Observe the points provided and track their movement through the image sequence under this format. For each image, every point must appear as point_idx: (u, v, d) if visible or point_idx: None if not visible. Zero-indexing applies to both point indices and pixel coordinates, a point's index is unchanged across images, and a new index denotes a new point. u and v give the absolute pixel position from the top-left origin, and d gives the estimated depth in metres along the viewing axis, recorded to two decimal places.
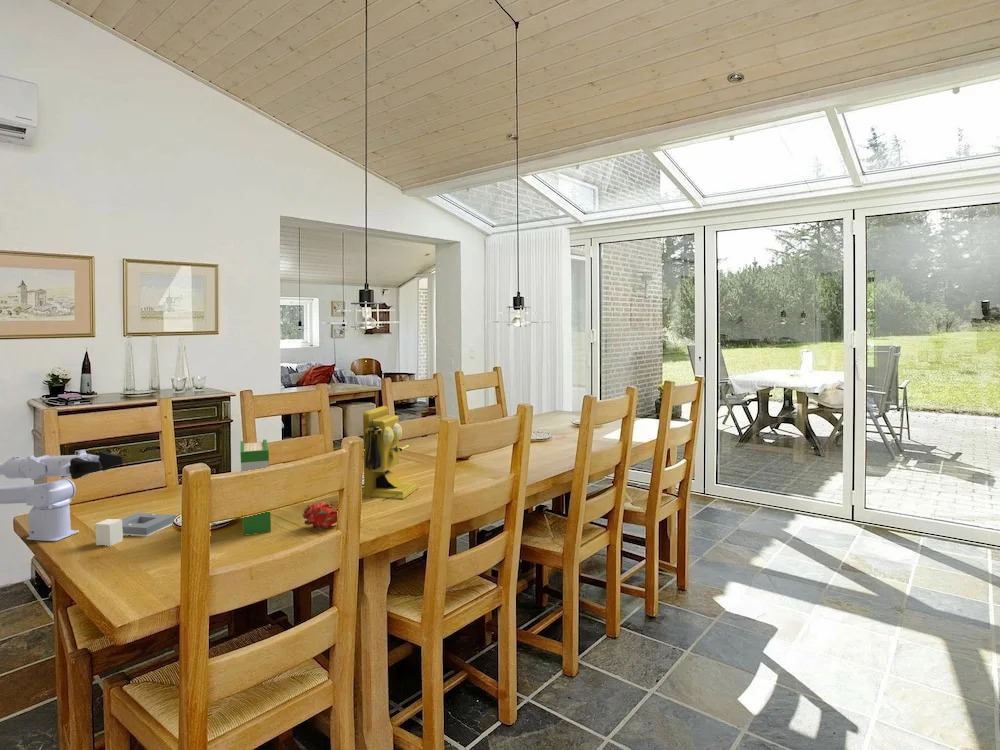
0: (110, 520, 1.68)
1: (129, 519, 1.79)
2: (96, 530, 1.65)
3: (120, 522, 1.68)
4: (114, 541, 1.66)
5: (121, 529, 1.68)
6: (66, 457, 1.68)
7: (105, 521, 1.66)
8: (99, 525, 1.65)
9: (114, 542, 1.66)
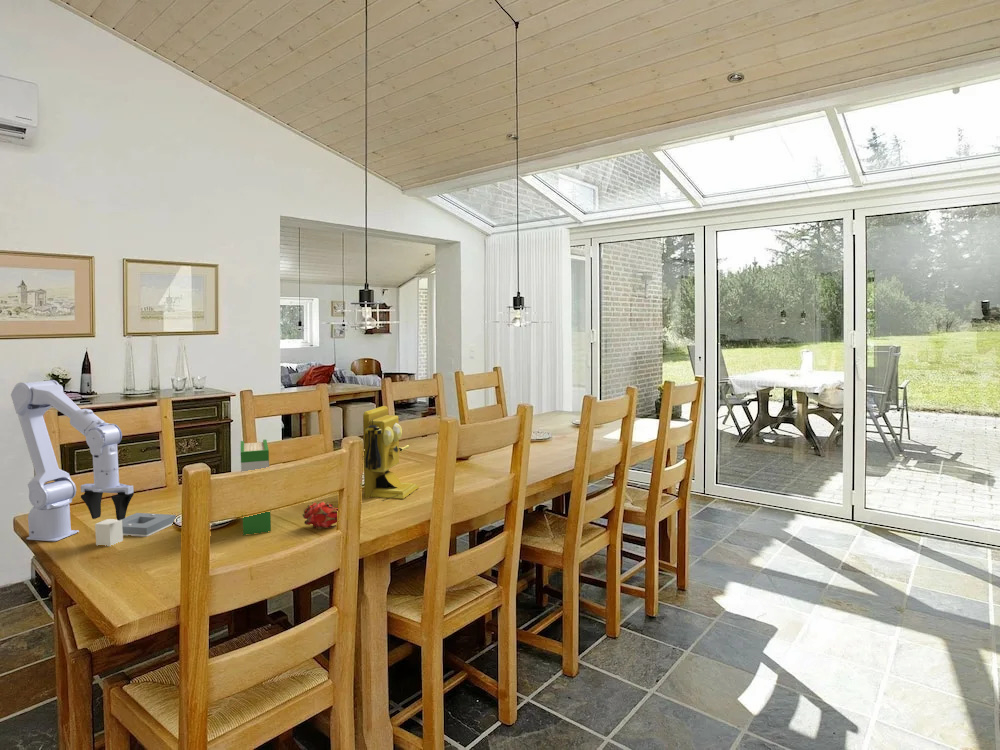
0: (110, 520, 1.68)
1: (129, 519, 1.79)
2: (96, 530, 1.65)
3: (120, 522, 1.68)
4: (114, 541, 1.66)
5: (121, 529, 1.68)
6: (94, 475, 1.63)
7: (105, 522, 1.66)
8: (99, 525, 1.65)
9: (114, 542, 1.66)
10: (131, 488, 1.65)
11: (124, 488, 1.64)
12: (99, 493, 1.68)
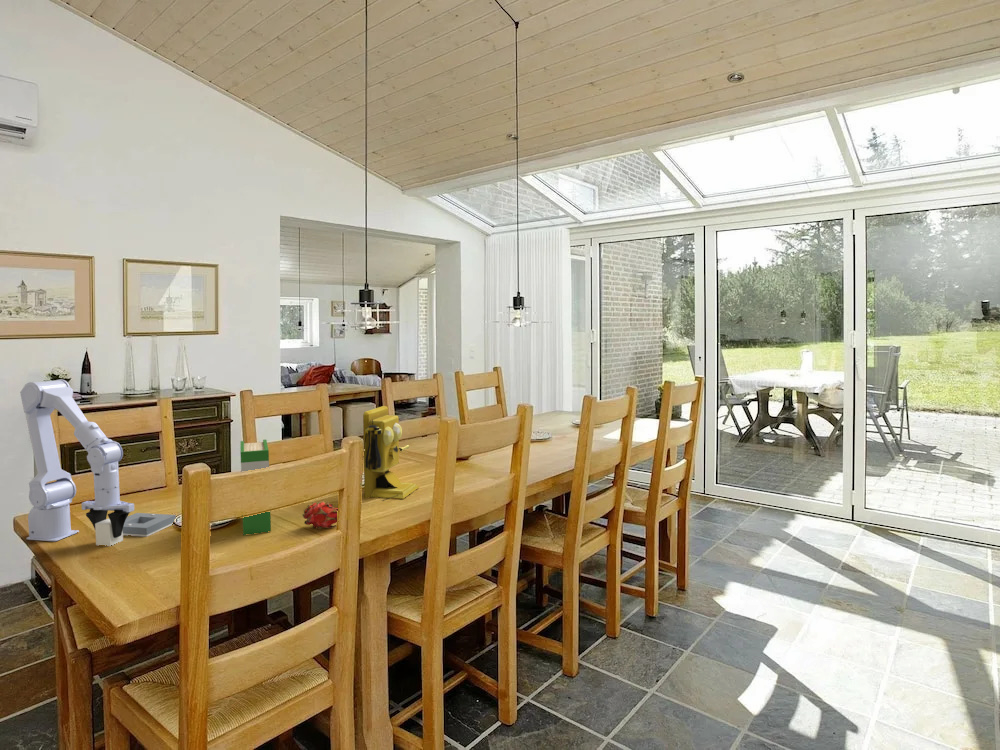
0: None
1: (129, 519, 1.79)
2: (96, 530, 1.65)
3: None
4: (114, 540, 1.66)
5: None
6: (95, 493, 1.64)
7: (105, 521, 1.66)
8: (99, 525, 1.65)
9: (114, 542, 1.66)
10: (132, 506, 1.65)
11: (125, 506, 1.64)
12: (104, 511, 1.68)
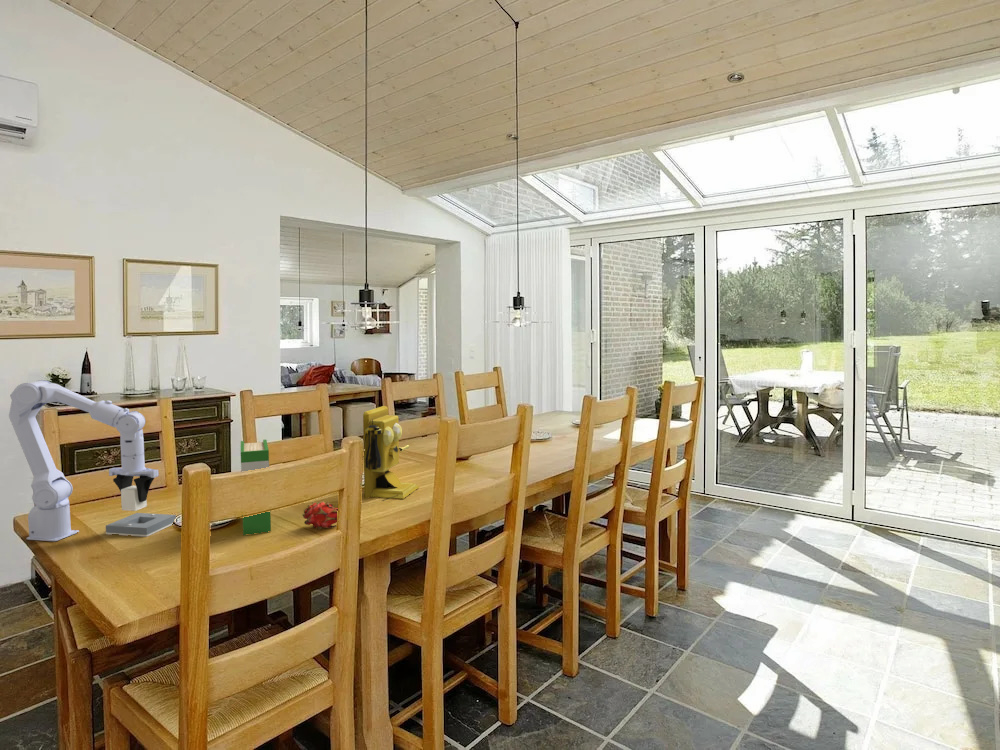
0: (135, 486, 1.76)
1: (129, 519, 1.79)
2: (122, 495, 1.74)
3: None
4: (138, 506, 1.74)
5: None
6: (121, 459, 1.73)
7: (130, 488, 1.75)
8: (124, 491, 1.73)
9: (139, 507, 1.75)
10: (156, 472, 1.74)
11: (150, 472, 1.73)
12: (130, 477, 1.77)
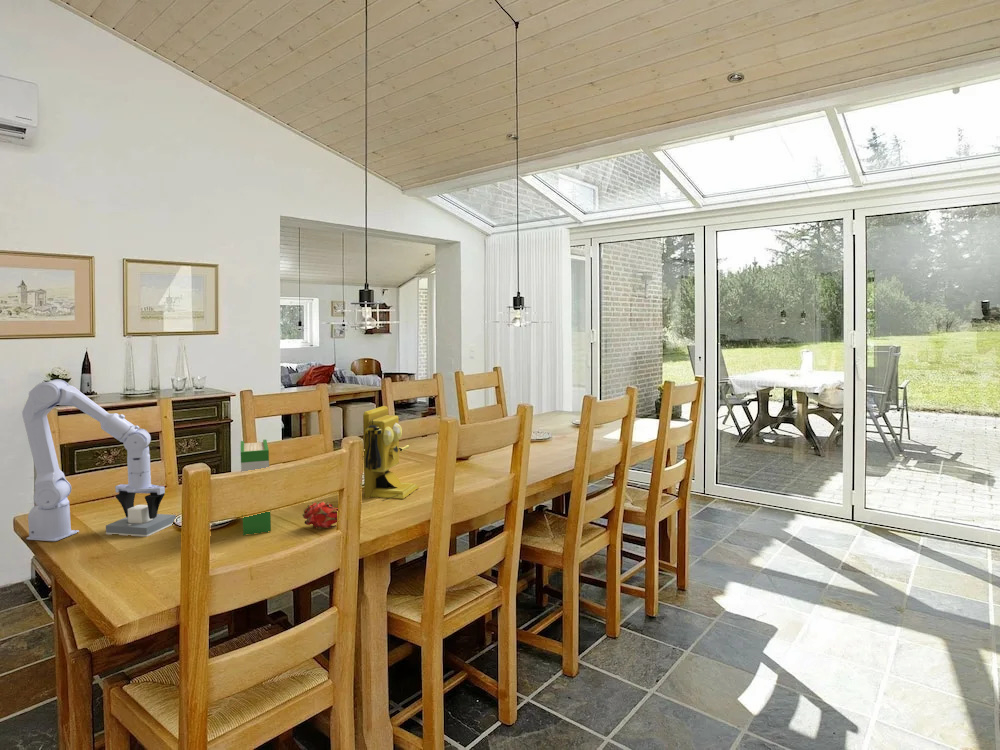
0: (141, 506, 1.79)
1: None
2: (128, 515, 1.76)
3: None
4: None
5: None
6: (128, 476, 1.75)
7: (136, 507, 1.78)
8: (131, 510, 1.76)
9: None
10: (163, 489, 1.77)
11: (156, 489, 1.76)
12: (132, 493, 1.80)
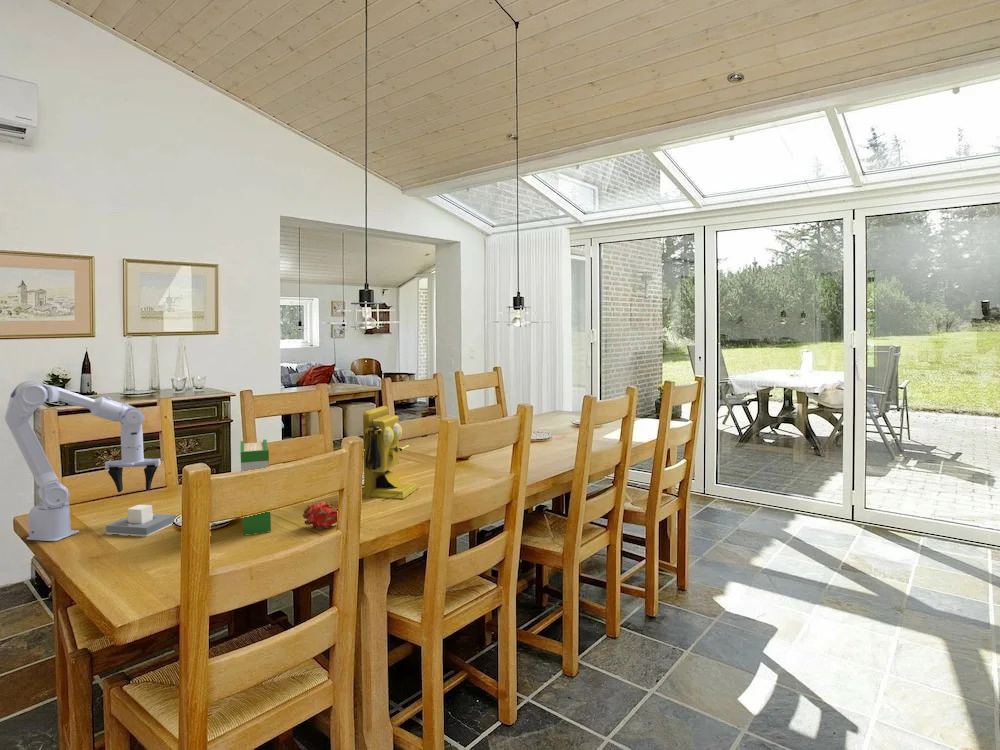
0: (141, 506, 1.79)
1: None
2: (128, 515, 1.76)
3: (150, 507, 1.79)
4: None
5: (151, 514, 1.80)
6: (124, 451, 1.81)
7: (136, 507, 1.78)
8: (131, 510, 1.76)
9: None
10: (159, 461, 1.86)
11: (154, 461, 1.85)
12: (121, 469, 1.85)
